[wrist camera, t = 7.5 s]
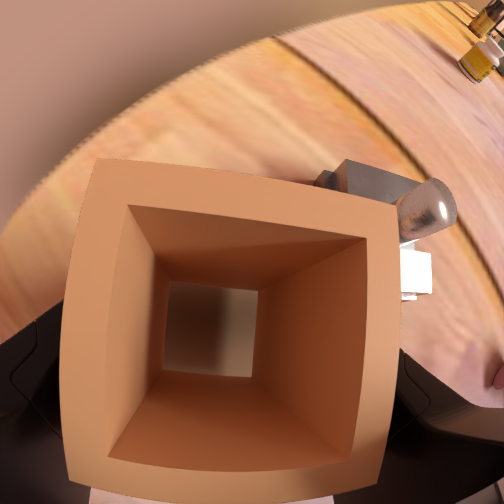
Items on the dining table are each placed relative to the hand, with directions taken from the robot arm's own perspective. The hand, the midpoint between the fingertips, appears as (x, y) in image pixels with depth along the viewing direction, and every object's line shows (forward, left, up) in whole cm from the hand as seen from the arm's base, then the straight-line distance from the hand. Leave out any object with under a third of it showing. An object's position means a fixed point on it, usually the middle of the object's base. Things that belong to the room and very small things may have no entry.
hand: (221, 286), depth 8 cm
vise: (+5, -9, -8) cm, 13 cm away
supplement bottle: (+41, -38, -8) cm, 57 cm away
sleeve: (-1, 0, -4) cm, 4 cm away
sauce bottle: (+87, -70, -8) cm, 112 cm away
